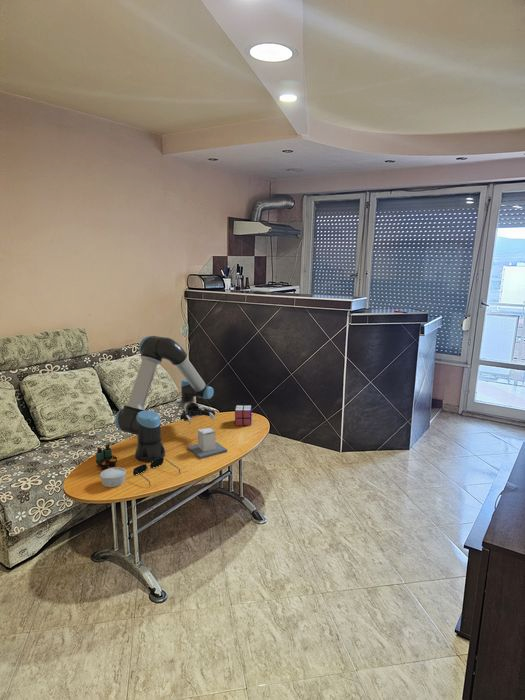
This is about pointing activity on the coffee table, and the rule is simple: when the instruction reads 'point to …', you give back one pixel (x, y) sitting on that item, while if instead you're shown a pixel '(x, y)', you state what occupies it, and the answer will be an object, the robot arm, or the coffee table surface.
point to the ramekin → (113, 476)
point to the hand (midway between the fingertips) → (201, 419)
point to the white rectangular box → (206, 439)
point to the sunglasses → (153, 464)
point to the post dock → (201, 454)
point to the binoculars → (105, 458)
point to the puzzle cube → (243, 415)
